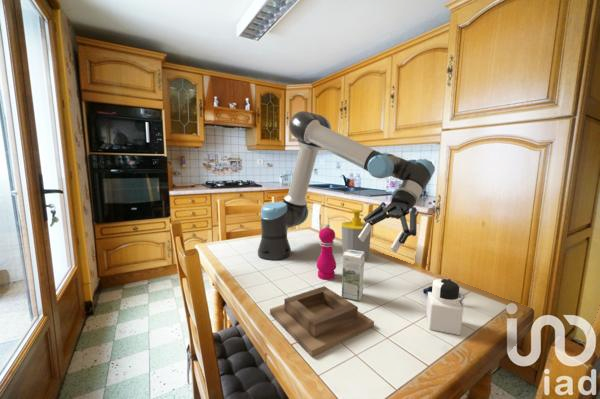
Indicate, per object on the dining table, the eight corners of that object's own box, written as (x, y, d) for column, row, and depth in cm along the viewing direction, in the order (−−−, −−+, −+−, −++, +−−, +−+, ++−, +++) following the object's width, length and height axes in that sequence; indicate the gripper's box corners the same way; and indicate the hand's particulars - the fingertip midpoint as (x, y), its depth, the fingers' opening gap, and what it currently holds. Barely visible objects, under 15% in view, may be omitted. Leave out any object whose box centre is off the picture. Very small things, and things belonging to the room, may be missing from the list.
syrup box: (363, 293, 88) (365, 250, 85) (359, 302, 82) (360, 256, 80) (346, 290, 90) (347, 248, 88) (341, 298, 85) (342, 253, 82)
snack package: (474, 313, 77) (459, 292, 89) (473, 292, 76) (458, 274, 88) (430, 314, 80) (421, 294, 91) (428, 294, 79) (419, 277, 90)
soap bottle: (339, 251, 128) (340, 207, 125) (366, 251, 127) (368, 207, 124) (342, 261, 115) (344, 213, 112) (373, 262, 114) (375, 213, 111)
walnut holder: (269, 313, 76) (269, 297, 75) (325, 294, 87) (325, 280, 86) (311, 357, 59) (311, 336, 58) (373, 326, 70) (374, 308, 69)
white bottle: (454, 320, 73) (458, 278, 72) (460, 336, 67) (465, 290, 65) (425, 315, 76) (429, 274, 74) (429, 330, 69) (432, 285, 67)
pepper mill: (335, 281, 96) (336, 227, 93) (315, 279, 98) (315, 225, 95) (336, 273, 103) (337, 222, 100) (317, 271, 105) (318, 221, 102)
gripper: (445, 208, 86) (414, 262, 80) (382, 198, 107) (354, 241, 101) (437, 192, 83) (404, 248, 77) (373, 186, 103) (344, 229, 97)
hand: (375, 244), depth 89 cm, fingers open, 13 cm apart
